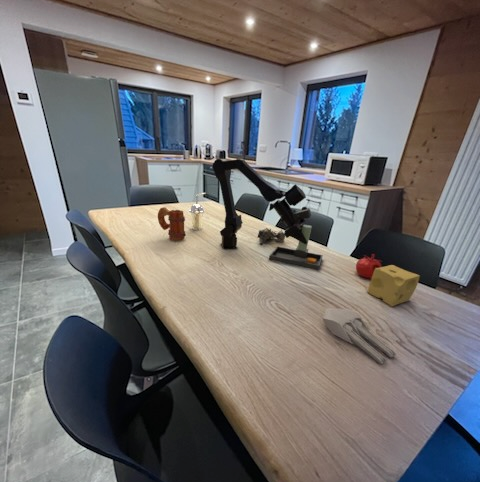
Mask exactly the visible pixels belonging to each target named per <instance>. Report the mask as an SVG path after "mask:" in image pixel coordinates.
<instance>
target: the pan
mask: <svg viewBox="0 0 480 482" xmlns="http://www.w3.org/2000/svg"><path fill="white" fill-rule="evenodd" d="M294 253H295V249H293V248H288V247H283V246H276V247H275V248H274V250H273V251H272V252H271V253H270V255H269V259H268V260H269V261H273V262H278V263H283V264H285V265H286V264H287V265H291V266H297V267H301V268H304V269H305V268H306V269H311V270H315V271H319V269H320V266H321V263H322V260H323V256H324V255H323V254H317V253H314V252H309V251H308V253H307V256H306V258H305V259H304V258H299V257H295V256H294ZM308 257H309V258H314V259H316V262H315V264H310V263H307V259H308Z"/></svg>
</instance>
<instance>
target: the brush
mask: <svg viewBox="0 0 480 482" xmlns="http://www.w3.org/2000/svg"><path fill="white" fill-rule="evenodd" d="M303 224H304V223H303ZM302 227H303V228H302V233H303V235H304V237H305V239H306V241H307V244H304V243H302V242H300V241H298V243H297V244H298V245H297V247H296V248H295V249H294V250H295V253H294V256H295V257H299V258H304V259H305V258H306V256H307V253H308V252H309V248H308V246H309V245H308V244H309V241H310V236H311V232H312V229H313V228H312V227H313V225H309V224H304V225H303V226H302Z"/></svg>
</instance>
